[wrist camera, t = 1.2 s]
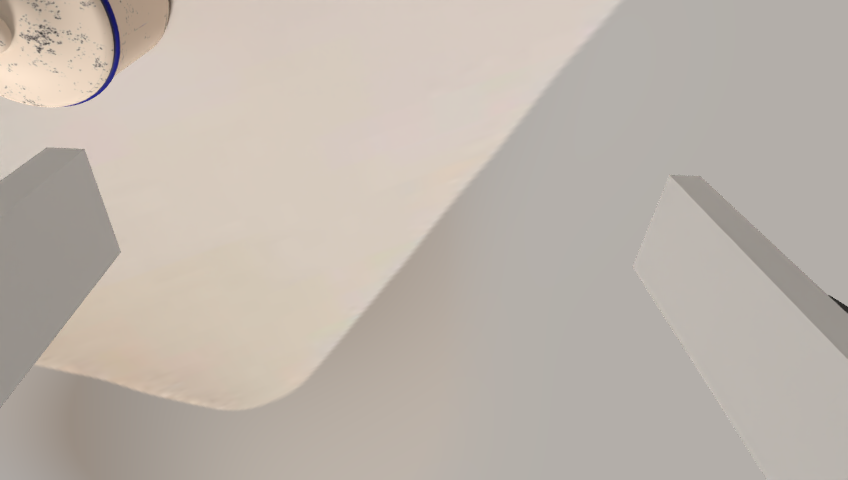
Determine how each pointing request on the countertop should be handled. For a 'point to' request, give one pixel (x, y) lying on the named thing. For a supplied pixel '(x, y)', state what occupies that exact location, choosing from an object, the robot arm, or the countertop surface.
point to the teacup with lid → (72, 46)
